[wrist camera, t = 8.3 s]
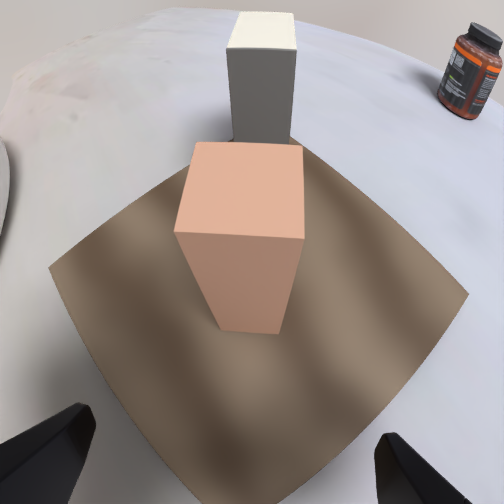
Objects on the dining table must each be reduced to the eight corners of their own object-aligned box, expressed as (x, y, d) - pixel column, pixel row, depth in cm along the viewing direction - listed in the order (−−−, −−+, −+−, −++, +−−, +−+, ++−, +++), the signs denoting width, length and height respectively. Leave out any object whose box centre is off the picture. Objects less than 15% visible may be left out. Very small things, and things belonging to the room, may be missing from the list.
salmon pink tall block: (278, 334, 16) (304, 239, 7) (221, 330, 16) (173, 231, 7) (281, 281, 17) (302, 145, 8) (227, 277, 17) (196, 141, 9)
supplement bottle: (481, 112, 28) (513, 44, 18) (471, 128, 26) (509, 50, 16) (443, 86, 30) (469, 16, 20) (429, 98, 28) (458, 18, 18)
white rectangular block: (284, 194, 20) (296, 51, 11) (238, 191, 20) (226, 49, 11) (285, 136, 23) (293, 13, 14) (246, 134, 23) (240, 11, 14)
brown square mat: (234, 524, 12) (232, 532, 11) (57, 274, 19) (48, 267, 18) (460, 300, 18) (469, 294, 17) (266, 130, 25) (266, 120, 24)
